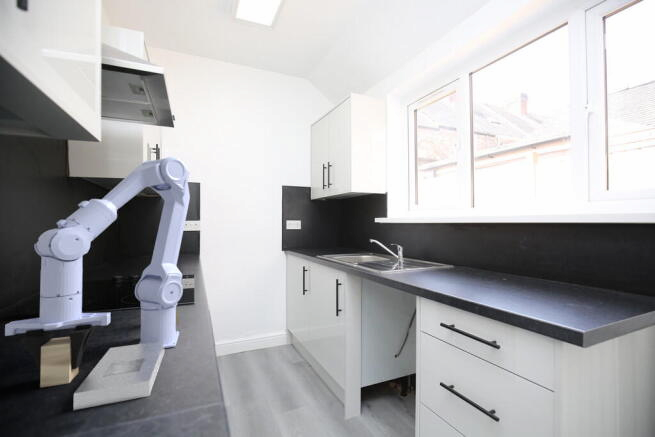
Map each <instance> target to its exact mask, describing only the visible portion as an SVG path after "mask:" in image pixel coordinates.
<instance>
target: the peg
mask: <svg viewBox="0 0 655 437" xmlns="http://www.w3.org/2000/svg"><path fill="white" fill-rule="evenodd" d="M71 358H72V347H71V340H70V336H65V337H54V338H51V340H50V341H48V342H47V343H46V344H44V345H43V346H42V347H41V374H40V380H39V381H40V383H39V387H40V388H46V387H53V386H59V385H66V384H70V383H71V382H72V381H73V379H74V378H75V377H77V375H78V374H79V367H80V365H79V366H78V368H77V369H72V367H71Z"/></svg>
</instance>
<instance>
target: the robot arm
mask: <svg viewBox="0 0 655 437" xmlns="http://www.w3.org/2000/svg"><path fill="white" fill-rule="evenodd" d="M189 176H190V171H189V169H188V168H187V167H186V164H185V162H184V161H182V160H181V159H180V158H178V157H175V156H168V157H166V158H160V159H154V160H146V161H144V162H142V163H141V165H138V166H136V167H134V169H133V170H131V172H130V173H129V174H128V175H127V176H125V178H123V179H122V180H121V181H120V182H119V183H118V184H117V185H116V186H115V187H114V188H112V189H111V190H110V191H109V192H108V193H107V194H106V195H104V197H103V198H101V199H99V198H91V199H90V200H83V201H81V202H80V203H78V205H77V207H79V208H78V209H77V210H76V211H74V212H73V213H71V214H70V215H69V216H68V217H66V219H59V220H58V221H57V222H56V225H57V228H53V229H49V230H47V231H45V232H43V233H42V234H40V236H39V237H38V239H37V240H38V241H37V242H36V243H34V244H33V246H34V251H35V252H36V254H38V255H39V256H40V257H41V260H40V261H41V264H40V267H41V269H40V281H39V282H40V285H39V286H40V287H39V288H40V290H39V292H40V293H39V295H40V296H39V317H36V318H35V317H34V318H29V319H22V320H15V321H10V322H9V323H6V324H5V328H4V336H5V337H7V336H14V335H17V334H24V337H22V338H21V344H22V345H23V346H25V348H26V349H27V350H28V351H29V353H30V355H31V356H32V358H33V360H34V362H35V365H36V367H37V371H38V374H39V375H41V347H42V346H43V345H44V344H46V343H47V342H48V341H50V340H51V339H53V338H52V337H53V332H54V330H55V331H56V330H65V329H73V330H72V331H70V332H69V336H68V337H70V340H71V347H72V358H71V367H72V369H77V368H78V369H79V367H80V366H81V364H82V360H83V356H84V355H83V354H84V352H85V349H86V346H87V343H88V342H89V339H90V338H91V336H92V333H93V332H94V330H95V329H96V326H101V327H102V326H104V327H105V326H108V325H109V324H110V323H111V311H110V312H109V311H108V312H83V310H82V308H83V256H84V255H86V254H88V252H89V250H90V248H91V242H92V241H94V240H95V239H96V238H97V237H98V236H99V235H100V234H102V233H103V232H104V231H105V230H106V229H107V228H108V227H109V226H110V225H111V224H112V223H114V222H115V221H116V220H117V218H118V213H117V212H118V209H120V208H122V207H123V206H124V205H125V204H126V203H128V202H129V201H130V200H132V199H133V198H134V197H135V196H136V195H138V194H139V193H140V192H142V191H143V190H144V189H145V188H151V189H152V190H154V191H155V192H156V193H157V194H159V195H160V197H161V198H162V200H163V201H164V203H163V207H162V211H161V216H160V221H159V225H158V231H157V234H156V239H155V244H154V247H153V248H154V249H153V253H152V257H151V262H150V264H149V265H148V266H147V267H146V268H144V270H143V271H142V274H141V277H140V279H139V280H138V282H137V283H136V285H135V288H134V295H135V298H136V299H137V300H138V301H139V302H140V305H139V306H140V341H139V343H138V344H145V343H153V342H160V341H165V349H169V348H175V347H176V346H177V342H178V339H179V335H180V331H178V330H176V327H177V325H176V307H177V306H178V302H179V301H180V300H181V298H182V296H183V292H184V288H183V284H182V283H183V282H182V280H183V273H182V272H181V271H180V269H179V268H178V266H177V264H178V259H179V254H180V249H181V244H182V239H183V235H184V234H183V233H184V230H185V223H186V219H187V214H188V209H189V204H190V199H191V198H190V197H191V196H190V188H189V184H188V181H189ZM78 366H79V367H78Z"/></svg>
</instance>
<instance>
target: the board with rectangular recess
mask: <svg viewBox="0 0 655 437" xmlns="http://www.w3.org/2000/svg"><path fill="white" fill-rule="evenodd" d="M165 349H166V348H165V341H160V342H153V343H145V344H139V343H138V344H131V345H123V346H116V347H115V346H114V347H110V348H109V349H108V350H107V352H105V354H104V355H103V356H102V358H101V359H100V360H99V361H98V363H97V364H96V365H95V367H94V368H93V369H92V370H91V371H90V373H89V374H88V375H87V376H86V378H85V379H84V380H83V381H82V382H81V383H80V385H79V387H77V389H76V390H75V391H74V393H73V411H76V410H81V409H87V408H92V407H98V406H102V405H103V406H104V405H108V404H113V403H114V404H115V403H119V402H125V401H129V400H130V401H131V400H135V399H141V398H145V397H146V398H147V397H150V396H151V393H152V389H153V387H154V383H155V380H156V378H157V375H158V373H159V369H160V366H161V363H162V360H163V358H164V356H165V351H166V350H165Z"/></svg>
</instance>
